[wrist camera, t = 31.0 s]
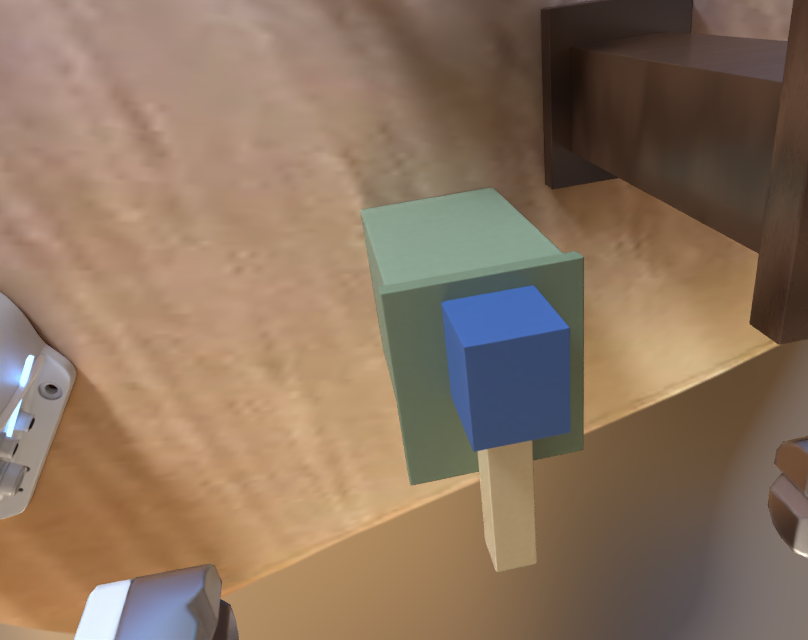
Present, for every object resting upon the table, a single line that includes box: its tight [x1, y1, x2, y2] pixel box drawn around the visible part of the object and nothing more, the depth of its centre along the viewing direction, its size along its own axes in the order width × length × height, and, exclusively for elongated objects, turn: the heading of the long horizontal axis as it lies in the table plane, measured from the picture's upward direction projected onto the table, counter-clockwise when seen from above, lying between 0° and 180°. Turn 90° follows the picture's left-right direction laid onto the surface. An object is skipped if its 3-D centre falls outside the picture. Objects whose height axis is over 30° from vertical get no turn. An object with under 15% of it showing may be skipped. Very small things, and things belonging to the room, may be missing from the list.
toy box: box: [361, 188, 584, 485], centre depth 43 cm, size 13×11×16 cm
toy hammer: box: [441, 285, 570, 572], centre depth 35 cm, size 18×5×5 cm, turn 7°
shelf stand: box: [541, 0, 808, 345], centre depth 35 cm, size 13×10×25 cm
